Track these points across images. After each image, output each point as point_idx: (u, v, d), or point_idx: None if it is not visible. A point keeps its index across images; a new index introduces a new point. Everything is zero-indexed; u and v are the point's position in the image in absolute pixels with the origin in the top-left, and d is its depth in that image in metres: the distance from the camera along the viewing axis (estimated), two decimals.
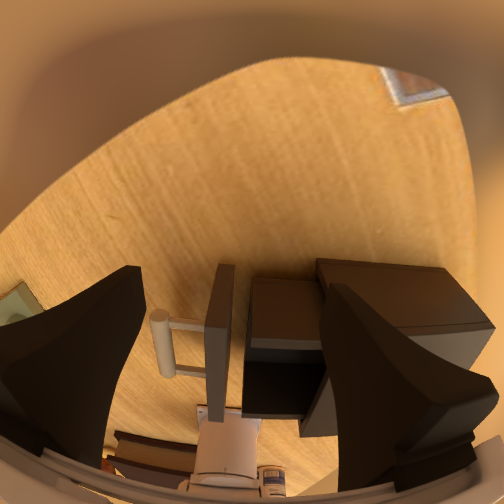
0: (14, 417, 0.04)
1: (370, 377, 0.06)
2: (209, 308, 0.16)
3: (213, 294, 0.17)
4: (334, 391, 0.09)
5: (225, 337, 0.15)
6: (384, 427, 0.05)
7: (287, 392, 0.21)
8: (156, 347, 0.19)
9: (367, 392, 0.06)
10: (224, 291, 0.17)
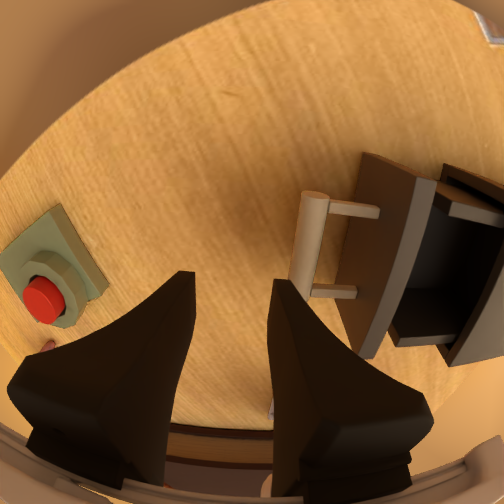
0: (86, 450, 0.04)
1: (290, 379, 0.06)
2: (402, 168, 0.11)
3: (390, 163, 0.13)
4: (273, 391, 0.09)
5: (433, 195, 0.10)
6: (295, 435, 0.05)
7: (430, 314, 0.16)
8: (302, 246, 0.14)
9: (288, 395, 0.06)
10: (397, 163, 0.13)
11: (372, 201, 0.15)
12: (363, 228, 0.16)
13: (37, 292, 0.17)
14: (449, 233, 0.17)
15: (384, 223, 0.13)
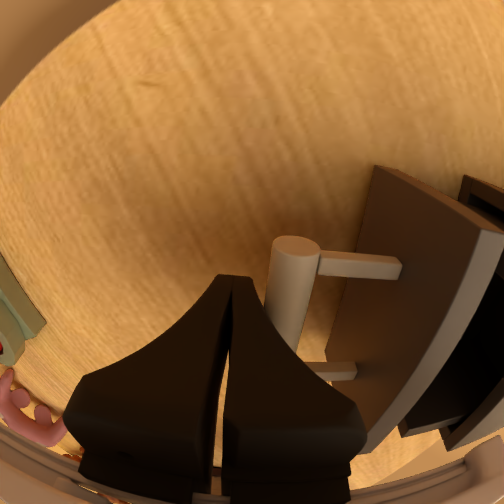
0: (152, 469, 0.04)
1: None
2: (448, 204, 0.06)
3: (424, 190, 0.07)
4: None
5: (498, 259, 0.05)
6: None
7: (449, 383, 0.11)
8: None
9: None
10: (432, 190, 0.08)
11: (389, 246, 0.09)
12: (372, 284, 0.10)
13: None
14: None
15: (407, 291, 0.08)
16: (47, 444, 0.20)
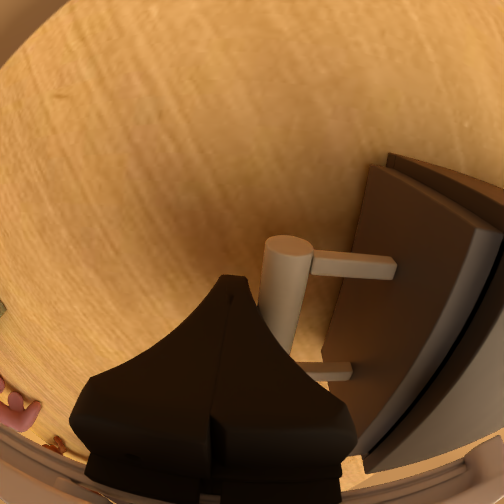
0: (160, 471, 0.04)
1: None
2: (442, 203, 0.06)
3: (419, 188, 0.07)
4: None
5: (494, 258, 0.05)
6: None
7: None
8: None
9: None
10: (428, 189, 0.08)
11: (384, 246, 0.09)
12: (367, 284, 0.10)
13: None
14: None
15: (402, 291, 0.08)
16: (18, 429, 0.20)
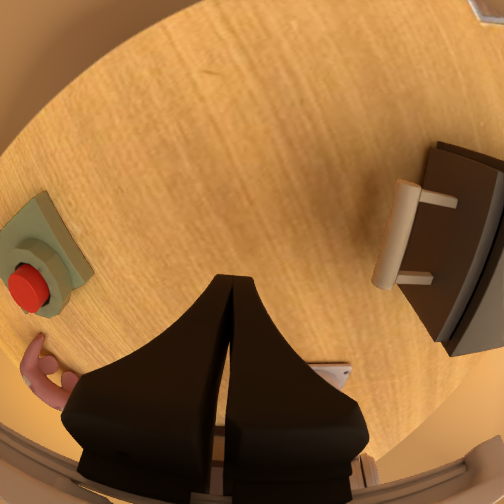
0: (151, 469, 0.04)
1: None
2: (480, 163, 0.11)
3: (466, 158, 0.12)
4: None
5: None
6: None
7: None
8: (397, 233, 0.13)
9: None
10: None
11: (447, 192, 0.14)
12: (437, 218, 0.15)
13: (20, 279, 0.16)
14: None
15: (463, 211, 0.12)
16: None
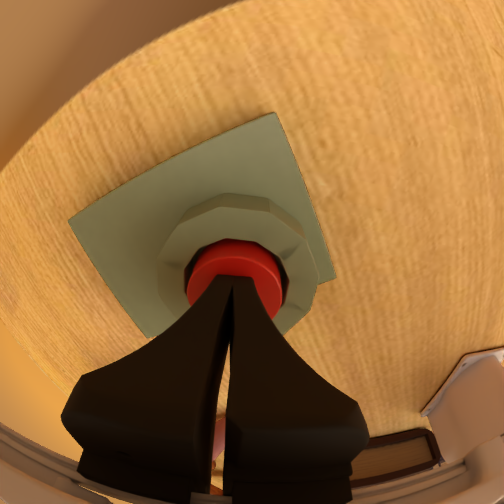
0: (151, 469, 0.04)
1: None
2: None
3: None
4: None
5: None
6: None
7: None
8: None
9: None
10: None
11: None
12: None
13: (250, 267, 0.10)
14: None
15: None
16: None
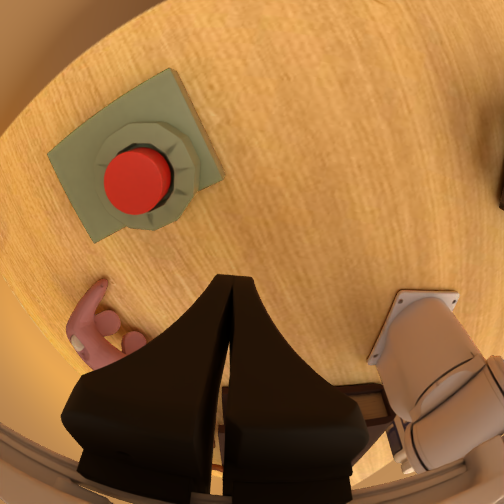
0: (151, 469, 0.04)
1: None
2: None
3: None
4: None
5: None
6: None
7: None
8: None
9: None
10: None
11: None
12: None
13: (139, 158, 0.14)
14: None
15: None
16: None
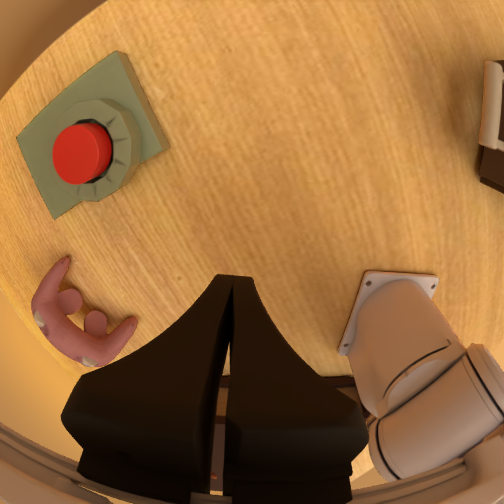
0: (151, 469, 0.04)
1: None
2: None
3: None
4: None
5: None
6: None
7: None
8: (494, 96, 0.10)
9: None
10: None
11: None
12: None
13: (79, 131, 0.13)
14: None
15: None
16: (99, 359, 0.21)
